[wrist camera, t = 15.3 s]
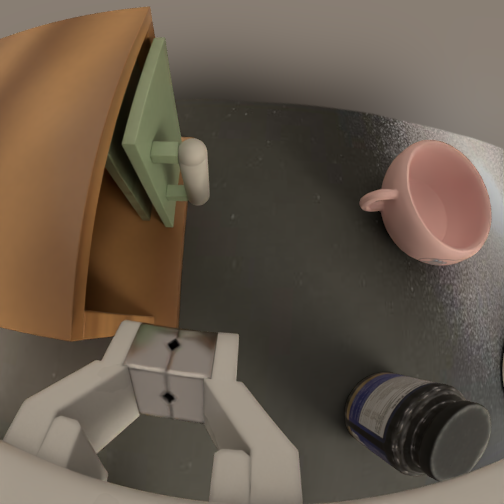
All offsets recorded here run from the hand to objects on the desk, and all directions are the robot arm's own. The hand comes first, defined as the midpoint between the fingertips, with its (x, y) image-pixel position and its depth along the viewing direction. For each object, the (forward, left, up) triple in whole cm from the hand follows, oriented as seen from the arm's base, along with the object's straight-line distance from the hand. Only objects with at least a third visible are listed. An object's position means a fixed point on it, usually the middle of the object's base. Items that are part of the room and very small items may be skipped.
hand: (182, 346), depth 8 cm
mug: (-16, -10, -15) cm, 24 cm away
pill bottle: (-13, +6, -15) cm, 21 cm away
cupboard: (+10, -7, -15) cm, 19 cm away
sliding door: (+2, -10, -13) cm, 17 cm away
